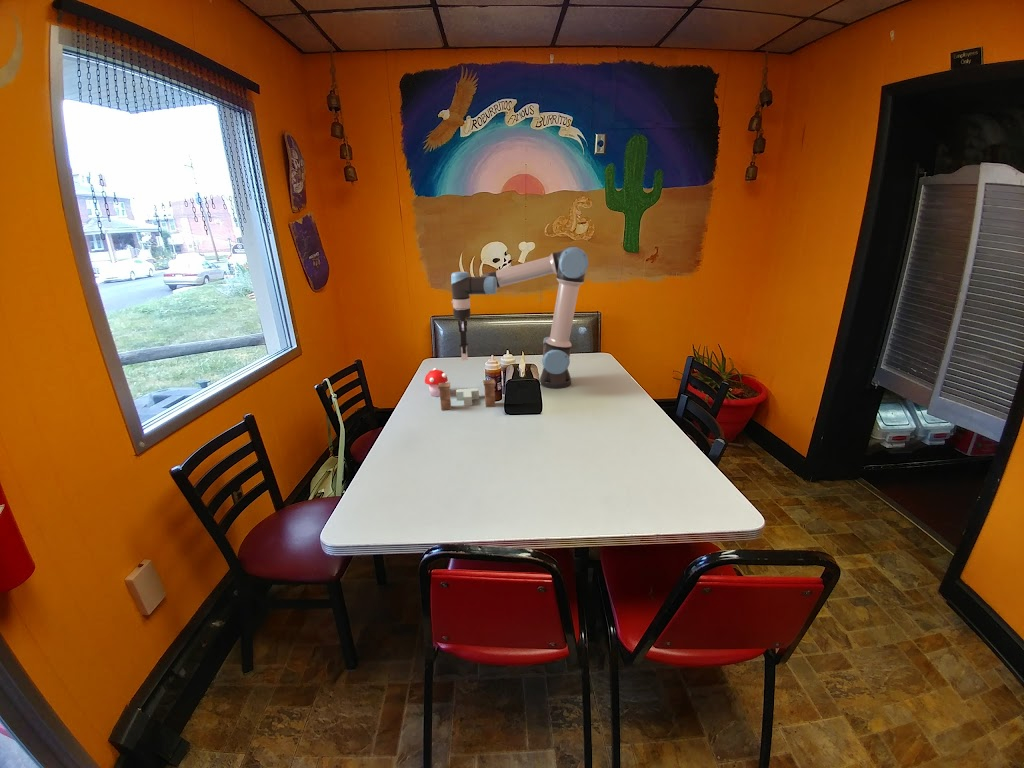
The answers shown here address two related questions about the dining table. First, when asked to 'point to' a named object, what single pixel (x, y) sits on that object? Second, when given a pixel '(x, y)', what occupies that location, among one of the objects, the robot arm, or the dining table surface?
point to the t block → (467, 395)
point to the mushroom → (435, 381)
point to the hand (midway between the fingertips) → (464, 359)
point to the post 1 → (445, 396)
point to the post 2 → (489, 393)
